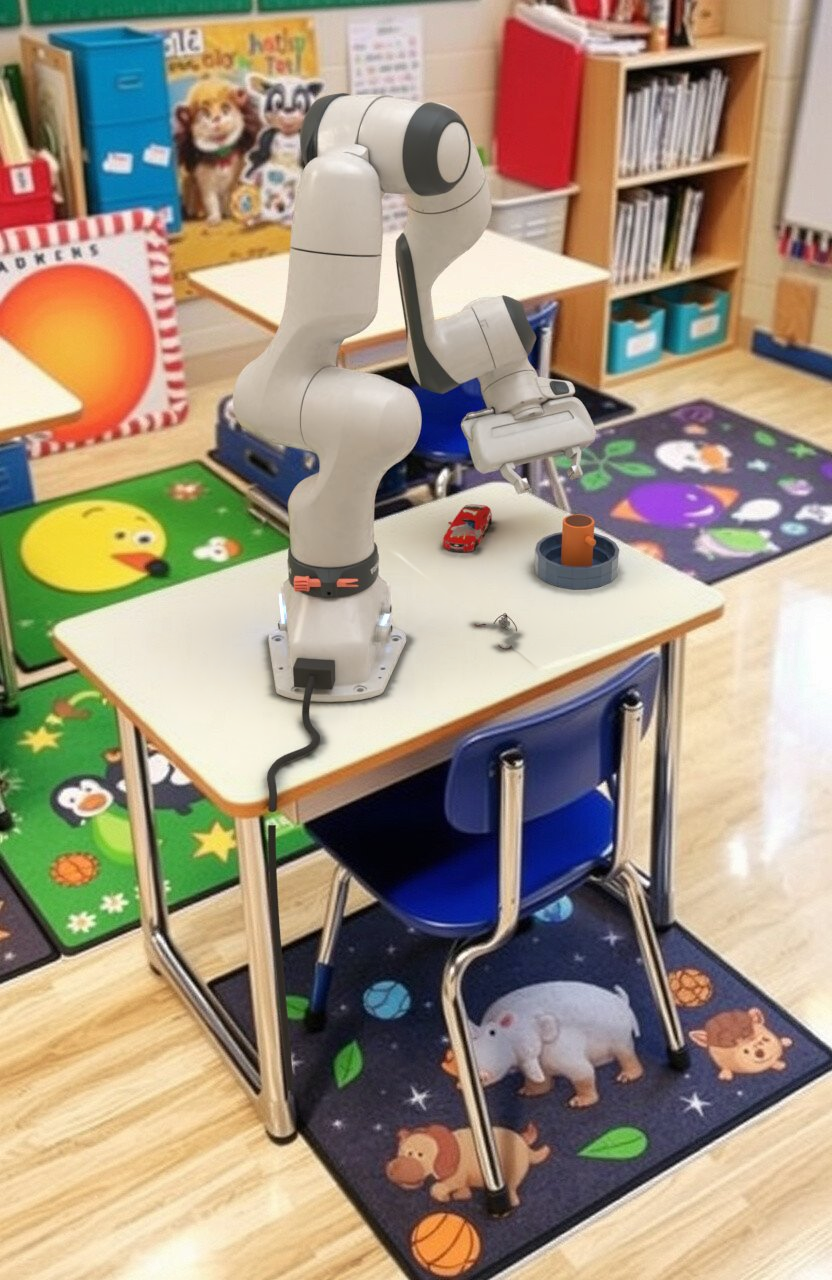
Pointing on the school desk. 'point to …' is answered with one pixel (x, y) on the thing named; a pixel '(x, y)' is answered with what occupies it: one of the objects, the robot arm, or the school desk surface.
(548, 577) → the bowl
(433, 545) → the school desk surface
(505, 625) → the pendant
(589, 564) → the orange cylinder with nub
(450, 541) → the race car
